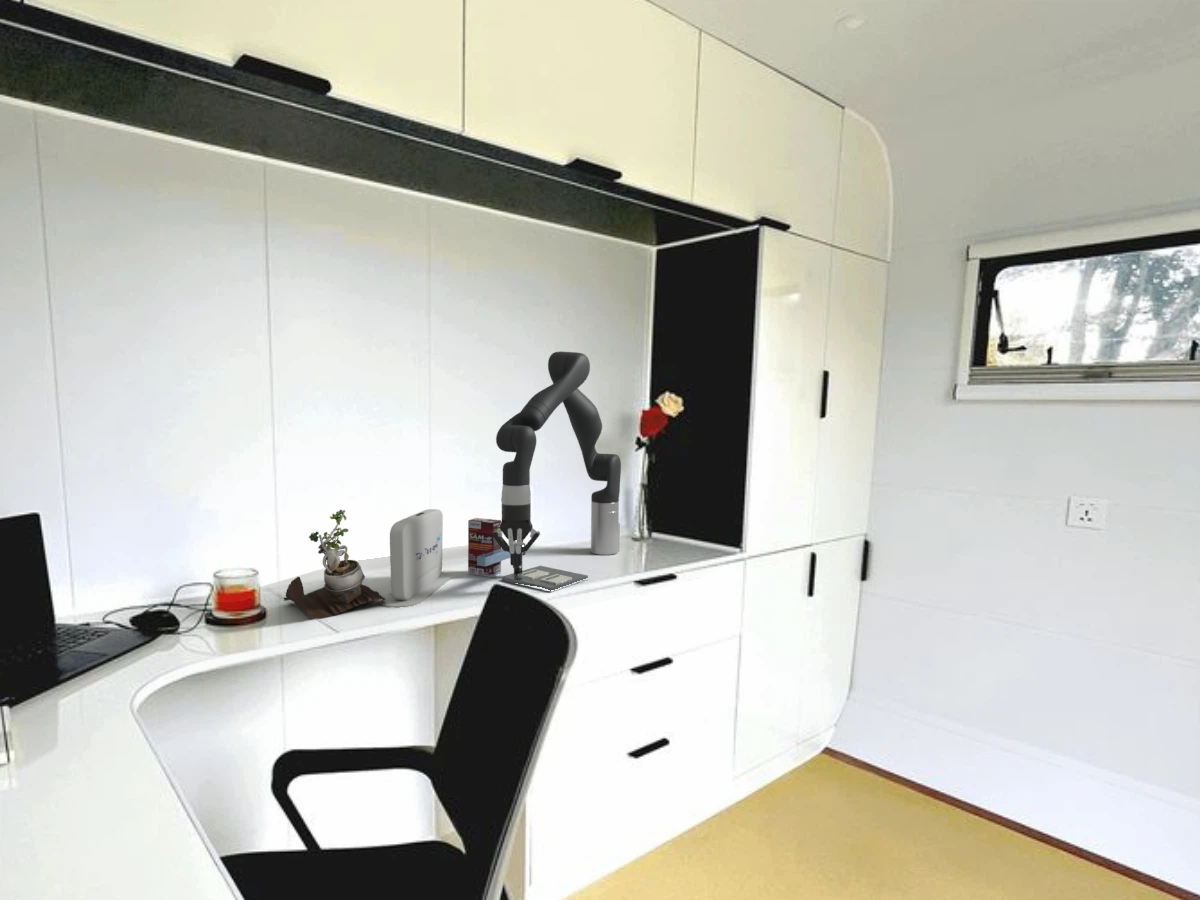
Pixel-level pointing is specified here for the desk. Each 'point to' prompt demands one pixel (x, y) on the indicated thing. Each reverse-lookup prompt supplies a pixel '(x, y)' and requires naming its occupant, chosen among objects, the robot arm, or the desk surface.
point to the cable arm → (494, 557)
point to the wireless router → (416, 559)
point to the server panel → (543, 577)
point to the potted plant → (333, 580)
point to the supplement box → (482, 545)
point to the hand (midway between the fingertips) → (516, 567)
